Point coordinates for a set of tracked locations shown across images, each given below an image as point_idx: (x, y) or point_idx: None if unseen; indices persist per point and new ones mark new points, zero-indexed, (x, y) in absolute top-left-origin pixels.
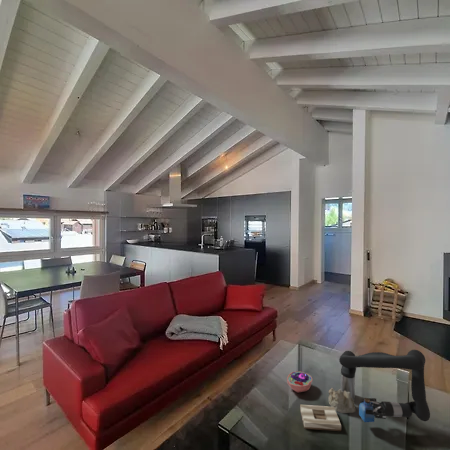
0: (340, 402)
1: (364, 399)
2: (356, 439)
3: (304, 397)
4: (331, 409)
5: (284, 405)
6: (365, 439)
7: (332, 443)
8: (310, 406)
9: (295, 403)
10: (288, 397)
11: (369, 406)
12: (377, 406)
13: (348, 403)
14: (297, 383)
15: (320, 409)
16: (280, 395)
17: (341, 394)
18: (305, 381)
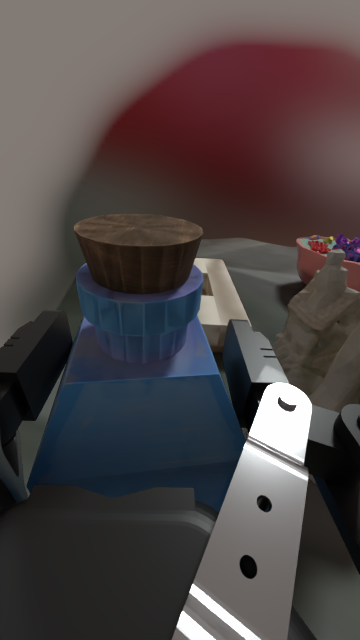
0: (292, 343)
1: (150, 215)
2: (50, 393)
3: (292, 296)
4: (226, 315)
5: (227, 262)
6: (28, 448)
7: (65, 310)
8: (221, 273)
9: (246, 277)
10: (267, 271)
11: (95, 350)
12: (80, 638)
13: (318, 390)
14: (312, 243)
15: (213, 288)
16: (266, 262)
17: (324, 297)
18: (347, 255)
